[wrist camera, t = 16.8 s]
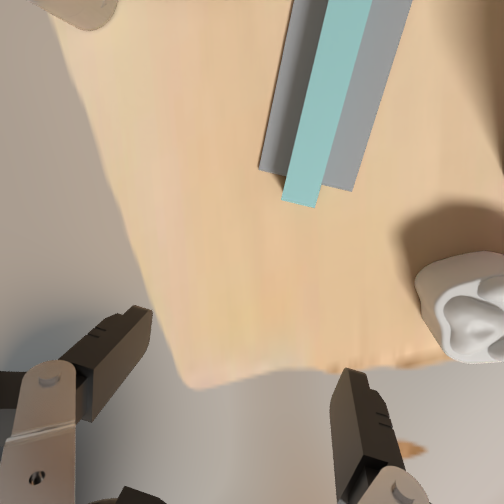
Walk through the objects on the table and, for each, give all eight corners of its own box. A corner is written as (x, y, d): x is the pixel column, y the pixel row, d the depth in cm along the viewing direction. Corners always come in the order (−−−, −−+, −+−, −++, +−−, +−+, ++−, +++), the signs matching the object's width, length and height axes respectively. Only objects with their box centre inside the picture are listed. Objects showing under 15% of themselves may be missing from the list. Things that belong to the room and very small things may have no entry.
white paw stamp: (410, 265, 39) (434, 293, 31) (529, 238, 36) (591, 262, 27) (425, 335, 41) (452, 378, 33) (539, 316, 38) (599, 360, 30)
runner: (259, 169, 40) (258, 169, 39) (324, -141, 30) (324, -146, 29) (351, 191, 38) (351, 191, 38) (452, -129, 28) (454, -134, 28)
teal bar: (284, 196, 39) (281, 199, 36) (351, -82, 30) (356, -115, 26) (315, 203, 39) (314, 208, 35) (392, -77, 30) (403, -111, 26)
